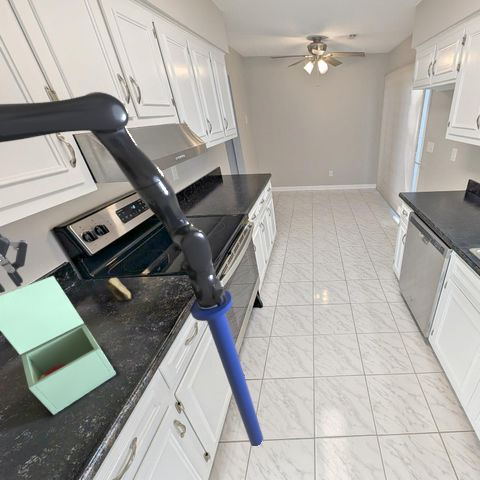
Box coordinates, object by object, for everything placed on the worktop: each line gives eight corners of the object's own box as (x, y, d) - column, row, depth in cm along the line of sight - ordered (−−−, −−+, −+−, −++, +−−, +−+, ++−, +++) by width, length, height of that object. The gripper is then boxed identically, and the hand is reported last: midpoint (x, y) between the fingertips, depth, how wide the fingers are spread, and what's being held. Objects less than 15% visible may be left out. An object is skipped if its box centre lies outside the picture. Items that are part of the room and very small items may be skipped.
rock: (112, 285, 112) (97, 296, 103) (119, 269, 111) (105, 280, 102) (137, 294, 116) (126, 306, 106) (145, 279, 114) (134, 290, 105)
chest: (116, 374, 75) (99, 348, 70) (53, 415, 65) (28, 388, 60) (100, 348, 84) (84, 323, 79) (43, 380, 74) (20, 355, 69)
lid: (53, 276, 73) (53, 275, 73) (-22, 303, 63) (-22, 302, 64) (84, 323, 79) (83, 322, 79) (19, 354, 69) (19, 353, 69)
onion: (65, 374, 75) (30, 377, 68) (80, 358, 75) (46, 359, 68) (70, 390, 72) (33, 395, 65) (85, 374, 72) (51, 376, 65)
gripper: (-104, 237, 45) (-35, 311, 53) (9, 212, 54) (53, 278, 62) (-98, 228, 49) (-35, 298, 57) (6, 207, 59) (47, 269, 67)
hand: (11, 287), depth 60 cm, fingers closed
